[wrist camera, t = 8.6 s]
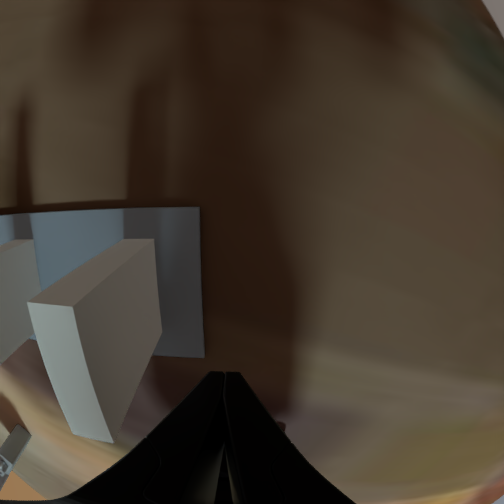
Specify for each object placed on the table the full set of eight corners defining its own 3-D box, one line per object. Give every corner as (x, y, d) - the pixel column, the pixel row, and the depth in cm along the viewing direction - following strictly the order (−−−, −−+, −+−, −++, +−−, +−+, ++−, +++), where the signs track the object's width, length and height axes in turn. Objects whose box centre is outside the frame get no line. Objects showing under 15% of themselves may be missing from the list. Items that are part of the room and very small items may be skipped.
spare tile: (154, 238, 14) (72, 306, 7) (162, 332, 16) (114, 443, 8) (123, 238, 14) (26, 302, 7) (134, 330, 16) (73, 434, 8)
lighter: (17, 423, 18) (-21, 478, 11) (31, 435, 19) (-4, 492, 11) (8, 446, 20) (-22, 493, 12) (20, 456, 20) (-8, 504, 12)
